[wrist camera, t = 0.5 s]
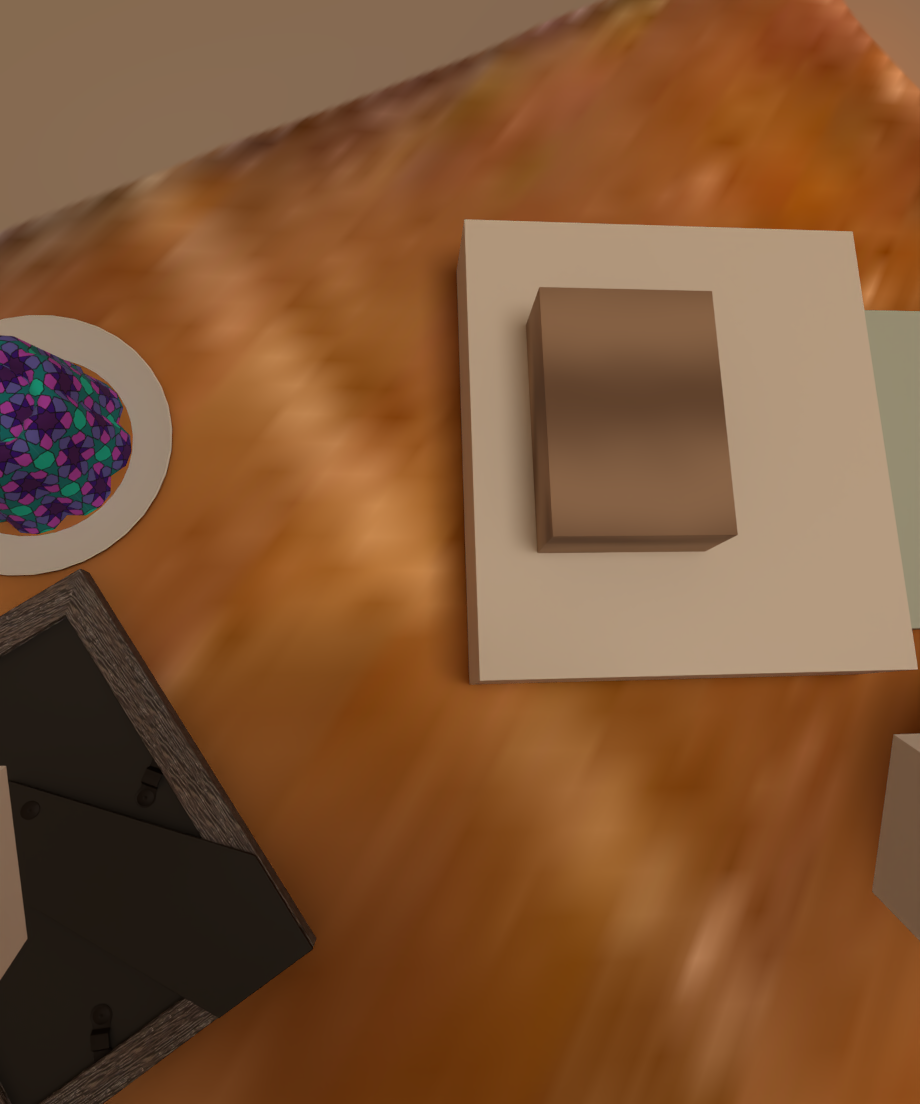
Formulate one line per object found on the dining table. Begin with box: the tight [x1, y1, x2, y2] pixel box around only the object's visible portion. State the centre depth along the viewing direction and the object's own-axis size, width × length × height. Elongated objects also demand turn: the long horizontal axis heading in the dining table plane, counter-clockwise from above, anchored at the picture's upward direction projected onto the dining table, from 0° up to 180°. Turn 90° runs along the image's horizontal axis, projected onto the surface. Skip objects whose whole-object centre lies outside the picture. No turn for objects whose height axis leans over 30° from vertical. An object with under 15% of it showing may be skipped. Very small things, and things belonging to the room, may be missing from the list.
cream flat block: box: [457, 219, 918, 684], centre depth 34 cm, size 20×18×4 cm
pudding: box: [0, 315, 172, 575], centre depth 32 cm, size 12×12×5 cm
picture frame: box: [0, 569, 316, 1104], centre depth 30 cm, size 13×2×18 cm
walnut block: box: [526, 287, 738, 553], centre depth 31 cm, size 10×7×3 cm
